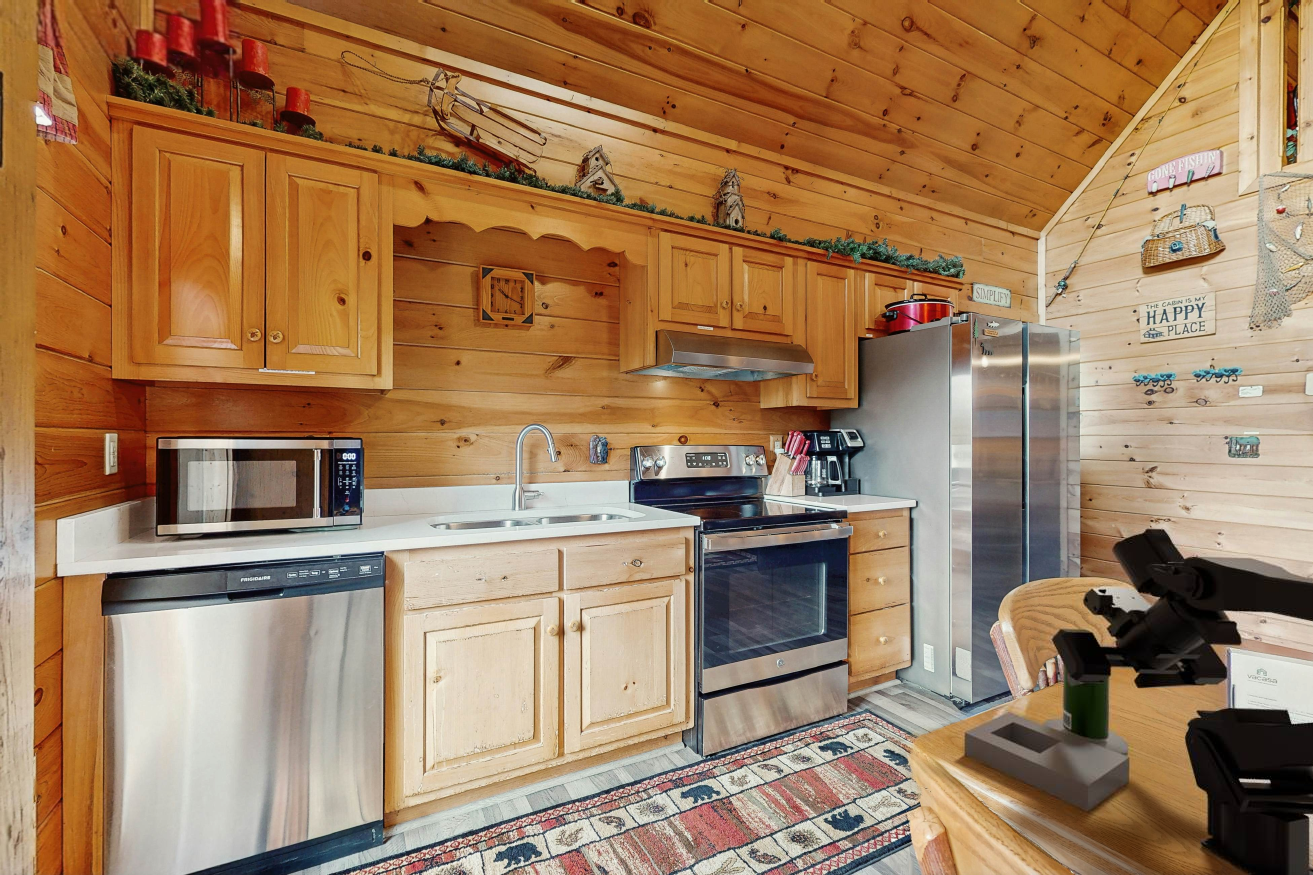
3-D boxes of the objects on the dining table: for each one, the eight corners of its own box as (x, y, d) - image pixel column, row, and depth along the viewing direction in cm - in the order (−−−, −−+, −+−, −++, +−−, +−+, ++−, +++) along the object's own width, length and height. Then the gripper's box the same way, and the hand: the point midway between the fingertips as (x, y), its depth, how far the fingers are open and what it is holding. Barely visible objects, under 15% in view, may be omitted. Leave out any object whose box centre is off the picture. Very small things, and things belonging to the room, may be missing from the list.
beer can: (1080, 744, 81) (1081, 658, 81) (1053, 725, 87) (1054, 645, 87) (1118, 744, 81) (1119, 659, 81) (1089, 726, 87) (1090, 646, 87)
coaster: (1146, 752, 80) (1146, 748, 80) (1091, 761, 78) (1091, 756, 78) (1078, 719, 90) (1078, 715, 90) (1026, 726, 88) (1026, 722, 88)
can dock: (1129, 780, 73) (1129, 756, 73) (1088, 811, 67) (1088, 785, 67) (1009, 732, 86) (1009, 711, 86) (964, 754, 79) (964, 732, 79)
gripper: (1205, 572, 75) (1138, 631, 86) (1061, 569, 76) (1011, 628, 87) (1269, 654, 67) (1185, 708, 78) (1106, 650, 68) (1045, 704, 79)
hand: (1103, 683), depth 81 cm, fingers open, 9 cm apart
